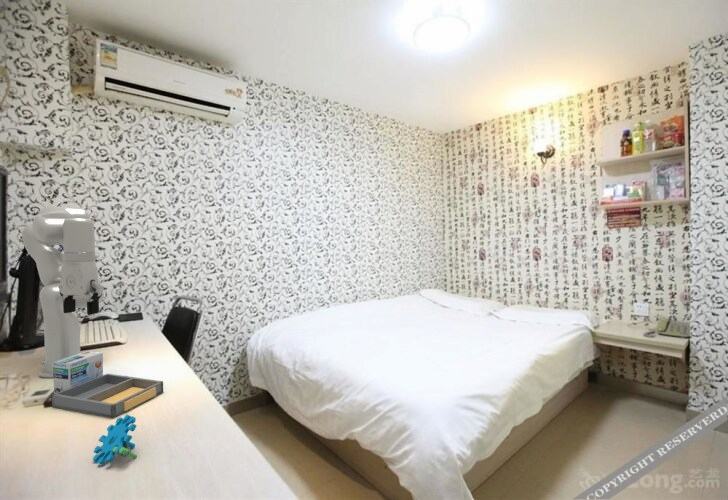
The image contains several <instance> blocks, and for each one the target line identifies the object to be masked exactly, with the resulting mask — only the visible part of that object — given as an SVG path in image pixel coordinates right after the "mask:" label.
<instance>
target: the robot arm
mask: <svg viewBox="0 0 728 500" xmlns="http://www.w3.org/2000/svg"><path fill="white" fill-rule="evenodd" d="M21 233H22V234H21V237H22V242H23V246H24V248H25V250H26V251H27V253H28V254H29V255H30V257H31V258H32V259H33V260H34V261H35V263H36V268H37V271H38V272H37V273H38V276H39V279H40V282H41V284H42V285H43V286H44V287H42V289H40V291H39V301H40V305H41V306H40V307H41V310H42V316H43V330H44V331H43V332H44V333H43V334H44V337H43V338H44V359H43V360H41V361H40V364H41V365H43V366H44V368H43V369H41V370H39V373H38V374H39V377H40V378H47V379H48V378H50V379H51V378H54V377H53V362H54V361H58V360H61V359H64V358H67V357H70V356H73V355H76V354H79V353H81V328H80V327H81V326H80V325H81V324H80V319H79V317H78V316H77V315H76V314H74V313H75V312H76V311H77V309H78V308H79V309H80V308H86V314H87V315H89V316H91V315H95V314H98V313H100V304H101V303H102V302H103V300H104V297H105V296H104V289H105V288H104V286H103V285H102V284H101V281H100V278H99V275H98V269H97V264H96V251H95V250H96V246H95V245H96V244H95V243H96V242H95V241H96V239H95V222H94V220H92V219H90V215H89V213H88V211H87V210H86V209H84V208H82V207H76V206H61V205H48V206H45V207H43V208H41V209H40V210H39V211H38V213H37V215H36V216H35V217H34V218H33V220H32V223H31V224H28V225H25V227H24V228H23V229H22V232H21ZM54 246H63V248H62V249H63V252H62V251H60V250H59V249H57V248H55V247H54Z"/></svg>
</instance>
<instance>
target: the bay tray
mask: <svg viewBox="0 0 728 500" xmlns="http://www.w3.org/2000/svg"><path fill="white" fill-rule="evenodd" d="M163 393H164V381H163V380H155V379H149V378H148V379H147V378H143V377H142V378H141V377H134V376H128V375H121V374H113V373H106V374H103V376H100V377H97V378H95V379H92V380H89V381H87V382H84V383H82V384H79V385H76V386H74V387H71V388H69V389H66V390H63V391H61V392H58V393H55V394H54V393H53V394H51V407H52V408H55V409H59V410H65V411H71V412H77V413H82V414H88V415H93V416H97V417H104V418H108V419H115V418H118V417H119V416H121V415H123V414H125V413H127V412H128V411H130V410H132V409H134V408H136V407H138V406H140V405H142V404H144V403H146V402H148V401H149V400H152V399H154V398H155V397H157V396H159V395H161V394H163Z"/></svg>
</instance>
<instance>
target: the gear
mask: <svg viewBox="0 0 728 500" xmlns="http://www.w3.org/2000/svg"><path fill="white" fill-rule="evenodd" d="M136 420H137V419H136V417H135V416H131V415H129V414H126V415H125V416H124V417H121V416H120V417H117V419H116V421H115V425H114V424H110V425H109V426H108V427H107V428H106V431H107V435H104V434H102V435H101V436H100V437H99V438H98V442H100V443H102V445H101V446H100V445H96V446H95V448H94V450H93V453H95V455H94V456H93V459H92V461H93V462H95V463H97V464H99V465H102V466H104V464H105V463H106V462H109V463H111V462H113V460H114V459H115V455H116V454H119V455H120V456H121V457H123V458H126V457H130V458H132V459H136V458H137V457H138V454H136V453H133V452H131V450H132V449H134V448H136V444H135V443H133V442H131V440H132V438H133V435H130V434H128V433H129V432H130V431H131V432H134V431H135V430H136V428H137V425H136V424H135V423H136Z"/></svg>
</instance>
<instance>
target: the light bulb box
mask: <svg viewBox="0 0 728 500" xmlns="http://www.w3.org/2000/svg"><path fill="white" fill-rule="evenodd" d="M103 355H104V353H103V352H99V351H90V350H85V351H84V352H80V353H79V354H76V355H73V356H70V357H67V358H64V359H61V360H58V361H54V362H53V377H52V378H53V394H54V393H58V392H61V391H63V390H66V389H69V388H71V387H74V386H76V385H79V384H82V383H84V382H87V381H89V380H92V379H95V378H97V377H100V376H103V375H104V365H103V364H104V360H103V359H104V356H103Z"/></svg>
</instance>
